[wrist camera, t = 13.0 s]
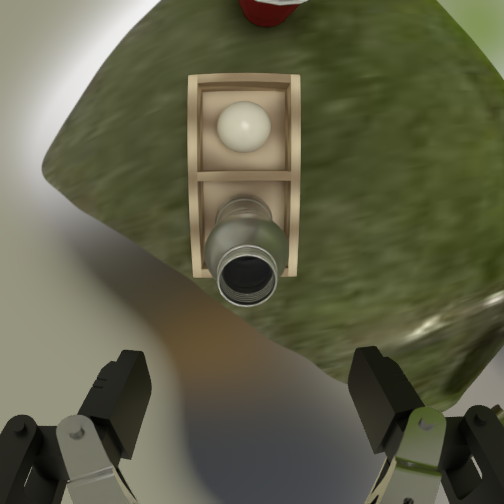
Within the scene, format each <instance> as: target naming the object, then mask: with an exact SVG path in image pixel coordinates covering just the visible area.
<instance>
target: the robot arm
mask: <svg viewBox="0 0 504 504" xmlns="http://www.w3.org/2000/svg"><path fill="white" fill-rule="evenodd" d="M348 388H349V392H350V395H351V397H352V399H353V402H354V404H355V407H356V409H357V412H358V414H359V417H360V419H361V422H362V424H363V426H364V429H365V432H366V434H367V437H368V439H369V442H370V444H371V447H372V449H373V452H374V454H377V453H381V452H385V453H386V456H387V457H386V459H385V461H384V463H383V466H382V468H381V470H380V473H379V475H378V477H377V479H376V481H375V483H374V486H373V487H372V489H371V491H370V494H369V495H368V498H367V499H366V501H365V503H364V504H434V502H435V499H436V495H437V492H438V488H439V484H440V481H441V483H442V485H443V488H444V490H445V493H446V495H447V498H448V500H449V503H450V504H504V427H503V425H502V424H501V422H500V421H499V419H498V418H497V416H496V415H495V414H494V412H493V411H492V410H491V409H489V408H488V407H485V406H482V405H475V406H472V407H471V408H469V409H468V410H467V412H466V414H465V415H464V416H463V417H444V415H443V414H442V413H441V412H440V411H439V410H437V409H435V408H432V407H425V405H424V404H423V402H422V401H421V399H420V397H419V396H418V394H417V393H416V391H415V390H414V388H413V387H412V385H411V383H410V382H409V381H408V379H407V377H406V376H405V374H403V371H402V370H401V368H400V367H399V365H398V364H397V363H396V362H395V361H393V360H392V359H390V358H389V357H383V356H382V354H381V353H380V351H379V350H378V348H377V347H376V346H369V347H361V348H356V350H355V352H354V356H353V361H352V365H351V369H350V373H349V377H348ZM151 390H152V386H151V379H150V375H149V372H148V368H147V364H146V360H145V356H144V353H143V352H142V351H133V350H123V351H122V352H121V354H120V356H119V358H118V359H117V361H116V362H114V361H111V362H109V363H108V364H107V365H106V366H104V367H103V368H102V369H101V371H100V373H99V375H98V377H97V380H95V382H94V384H93V387H92V388H91V389H90V391H89V393H88V395H87V397H86V398H85V400H84V402H83V404H82V406H81V408H80V410H79V412H78V414H77V415H71V416H68V417H66V418H64V419H63V420H62V421H61V422H60V423H59V424H58V426H38V425H37V424H36V422H35V421H34V420H33V418H31V417H30V416H28V415H17V416H15V417H13V418H11V419H10V420H9V421H8V422H7V424H6V426H5V427H4V429H3V431H2V433H1V434H0V504H61V501H62V497H63V494H64V490H65V487H66V484H67V487H68V491H69V493H70V496H71V499H72V501H73V504H140V503H139V501H138V500H137V498H136V496H135V495H134V493H133V491H132V489H131V488H130V486H129V484H128V482H127V481H126V479H125V477H124V475H123V473H122V471H121V470H120V468H119V466H118V464H119V462H120V458H124V459H130V460H131V458H132V455H133V451H134V448H135V444H136V441H137V438H138V434H139V431H140V428H141V424H142V421H143V418H144V415H145V412H146V409H147V405H148V402H149V399H150V396H151ZM473 456H474V458H475V460H476V462H477V464H478V466H479V468H480V470H481V472H482V479H481V477H480V475H479V473H478V471H477V469H476V467H475V465H474V463H473V461H472V459H471V458H472V457H473ZM31 467H32V469H31ZM30 469H31V472H30ZM29 472H30V474H29ZM28 474H29V477H28ZM27 477H28V480H27V482H26V479H27ZM68 480H70V482H67V481H68ZM25 482H26V485H25ZM24 485H25V487H24Z"/></svg>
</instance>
